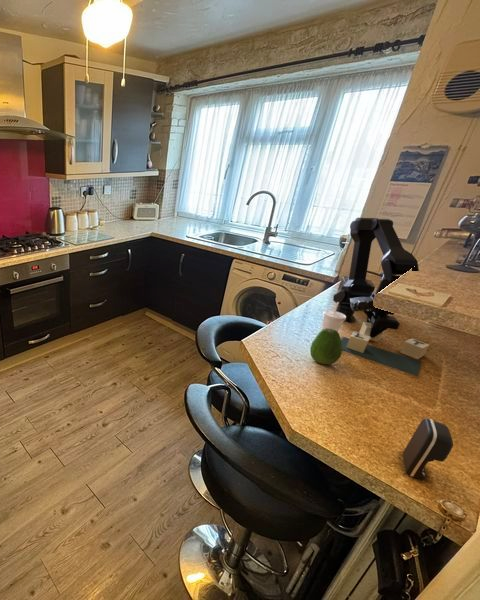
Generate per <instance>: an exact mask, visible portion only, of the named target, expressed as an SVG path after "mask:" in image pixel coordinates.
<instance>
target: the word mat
mask: <svg viewBox="0 0 480 600" xmlns="http://www.w3.org/2000/svg"><path fill="white" fill-rule="evenodd" d="M349 339H350V337H346V336H343V337H342V338H341V344H342V352H345V353H348V354H350V355H353V356H357V357H359V358H362V359H365V360H369V361H372V362H374V363H376V364H381V365H383V366H385V367H389V368H392V369H394V370H398V371H399V372H404V373H406V374H409V375H413V376H415V377H418V375H419V372H420V369H421V364H422V361H421V360H419V359H415V358H413V357H410V356H407V355H404V354H403V355H402V354H400V353H397V352H393V351H391V350H387V349H383V348H380V347H377V346H375V345H371V344H369V343H368V344H367V346H366V348H365V350H364V352H363V353H362V352H359V351H356V350H353V349H350V348H347V344H348V342H349Z"/></svg>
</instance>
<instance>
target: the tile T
mask: <svg viewBox="0 0 480 600" xmlns="http://www.w3.org/2000/svg"><path fill="white" fill-rule="evenodd" d="M429 347H430V344H428V343H426V342H423V341H420V340H417V339H414V338H409V339H407V340H406V341H404V343H403V344H402V347H401V349H400V351H399V354H400V353H401V354H403V355H404V356H407V357H409V358H412V359H415V360H419V359H421V358H422V357H424V356H425V354H426V352H427V351H428V348H429Z"/></svg>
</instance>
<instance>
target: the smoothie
mask: <svg viewBox="0 0 480 600" xmlns="http://www.w3.org/2000/svg"><path fill="white" fill-rule="evenodd" d="M338 305H339V302H337V303H335V307H334V310H330V309H329V310H328V309H327V310H325V311H323V313H322V315H323V318H322V324H321V329H320V331H322V330H323V329H326V328H331V329H333V330H335V331H337V332H338V333H339V330H340V328H341V326H342V325H343V323H344V322H346V321H345V320H346V316H345V315H344V314H342V313H340V312H337V311H336V310H337V307H338Z"/></svg>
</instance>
